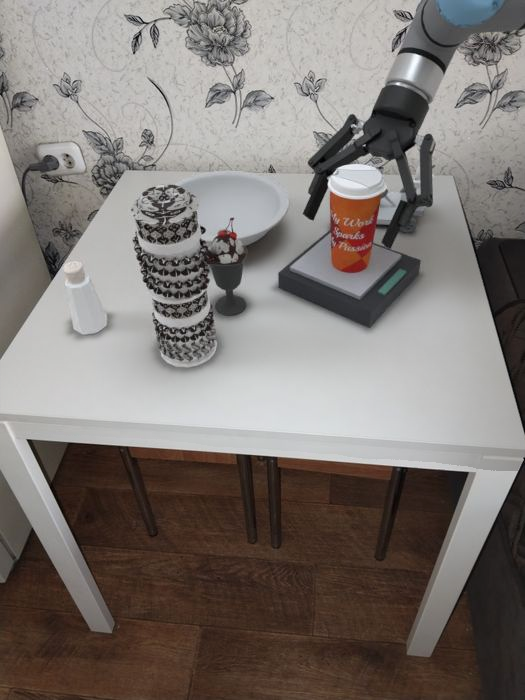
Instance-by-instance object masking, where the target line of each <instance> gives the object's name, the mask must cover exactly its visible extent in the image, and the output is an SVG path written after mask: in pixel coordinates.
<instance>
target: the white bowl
mask: <svg viewBox="0 0 525 700" xmlns="http://www.w3.org/2000/svg"><path fill="white" fill-rule="evenodd" d="M171 185H176V186H180V187H182V188H183V189H184V190H186V191H187V192H189V193H191V194H192V195H194V196H195V197H197V200H198V202H199V206H198V208H197V216H198V218H197V219H198V221H199V224H200V225H201V226H202V227H204V228H205V229H206V232H205V233H204V234H202V235H201V237H200V238H201V239H203V240H205V241H206V245H207V246H210V244H211V243H212V241H213V239H214V238H215V237H216V236H218V235H219V233H220V231H221V230H225V229H226V228H227V227H228V225H229V222H230V218H234V220H233V221H232V220H231V222H232V228H233V232H235V233H236V234H237V237H236V238H237V239H239V240H240V241H241V243H242V244H243V245H244V246H245V247H247V246H248V245H251V244H254V243H255V242H256V241H257V242H258V240H260V239H261V238H263V237H264V236H265V235H267V233H268V232H270V230H271V229H273V228H274V227H276V226H277V225H279V223H280V222H281V221H283V219H284V218H285V217H286V216H287V213H288V211H289V208H290V197H289V194H288V192H287V190H286V189H285V188H284V186H282V185H281V184H280V183H279V182H277V181H276V180H274V179H272V178H270V177H267V176H265V175H263V174H259V173H255V172H251V171H245V170H230V169H229V170H228V169H226V170H213V171H206V172H202V173H201V172H200V173H197V174H193V175H190V176H187V177H184V178H182V179H180V180H178V181H175V182H174V183H172V184H171ZM231 222H230V225H229V227H228V228H227V230H226V232H229V233H230V232H232V228H231ZM200 247H201V248H202V246H201V245H200Z"/></svg>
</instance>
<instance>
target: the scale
mask: <svg viewBox="0 0 525 700" xmlns="http://www.w3.org/2000/svg"><path fill="white" fill-rule="evenodd" d="M421 262H422V259H419V258H416V257H413V256H411V255H408V254H406V253H403V252H400V251H398V250H394V249H392V248H391V249H390V248H387V247H385V246H384V245H381V244H378V243H375V242H373V245H372V251H371V256H370V260H369V264H368V266H367V268H366V269H364V270H363V271H360V272H357V273H346V272H342V271H339V270H337V269H336V268H335V267H334V266H333V265H332V260H331V228H329V230H327V232H325V233H324V234H323V235H322V236H321V237H319V238H318V239H317V240H316V241H315V242H313V243H312V244H311V245H309V247H307V248H306V249H305V250H304V251H303V252H301V253H300V254H299V255H298V256H297V257H295V258H294V259H293V260H292V261H290V262H289V263H288V264H287V265H286V266H285V267H283V268H282V269H281V270H280V271H278V273H277V277H278V282H277V283H278V284H277V285H278V289H281V290H283V291H286V292H287V293H290V294H291V295H294V296H296V297H299V298H301V299H304V300H305V301H308V302H310V303H313V304H315V305H317V306H320V307H321V308H323V309H326V310H328V311H330V312H333V313H335V314H337V315H340V316H342V317H343V318H347V319H349V320H351V321H353V322H355V323H358V324H360V325H363V326H364V327H367V328H371V326H372V325H374V323H375V322H376V321H377V320H378V319H379V318H380V317H381V316H382V315H383V314H384V312H385V311H386V310H387V309H388V308H389V307H390V306H391V305H392V304H393V303H394V302H395V301H396V300H397V299H398V297H399V296H401V294H402V293H403V292H404V291H405V290H406V289H407V288H408V287H409V286H410V285H411V284H412V282H413V281H414V280H415V279H416V278H417V277H418V276H419V273H420V269H421V268H420V267H421Z"/></svg>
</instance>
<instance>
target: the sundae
mask: <svg viewBox="0 0 525 700" xmlns="http://www.w3.org/2000/svg"><path fill="white" fill-rule="evenodd" d="M231 220H232V221H233V220H234V218H230V222H231ZM230 222H229V225H230ZM229 225H228V227H229ZM228 227H227V228H228ZM227 228H226V229H225V230H221V231H220V232H219V233H218V236H216V237H215V238H214V239H213V241H212V243H211V244H210V246H208V249H207V251H206V252H207V254H208V255H207V256H208V257H209V260H208V261H207V262H206V263H207V265H209V266H210V270H211V273H212V276H213V280H214V282H215V285H216V286H217V287H218V288H219V289H220V290H222V291H225V295H223V296H222V297H220V298H218V299H217V301H216V302H215V305H214V308H215V310H216V312H218V313H219V314H221V315H224V316H235V315H239V314H241V313H242V312H243V311H244V310H245V309H246V308H247V302H246V300H245V298H243V297H242V296H240V295H236V294H234V290H235V289H237V288H238V287H239V286H240V285H241V282H242V277H243V270H244V269H243V268H244V262H245V260H246V258H247V256H248V254H249V249H248V247H247V246H244V245H243V244H242V243H241V241H240V240H239V239H237V238H236V237H237V234H236V233H235V232H233V228H232V222H231V228H232V232H230V231H229V233H228V231H227Z"/></svg>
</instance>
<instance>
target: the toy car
mask: <svg viewBox="0 0 525 700" xmlns="http://www.w3.org/2000/svg"><path fill="white" fill-rule="evenodd" d="M435 167H436V165H435V164H432V170H433V169H434V168H435ZM414 175H415V176H414V179H413V182H414V186H415V189H416V191H417V189H421V188H420V164H418V167H417V169H416V171H415V174H414ZM435 179H436V176H435V174H434V172H433V171H432V181H435ZM417 195H421V193H417ZM406 198H407V197H406V194H405V190H404V187H402V188H401V189H400V190H399V192H396V191H395V192H393V191H389V190H388V189H387V188H386V190H385V191H384V192H383V193H382V196H381V201H380V207H379V212H378V218H377V223H376V225H385V226H386V225H387V226H389V224H390V222H391V220H392V218H393V215H394V213H395V211H396V209H397V207H398V204H399V202H400V200H403V201H406V202H407V199H406ZM424 214H425V206H422V207H418V208H417V209H416V210H415V212H414V214H413V216H414V217H415V216H417V217H424ZM413 216H412V219H411V221H410V223H409V225H408V226H407V227H406V228H403V227H401V228H400V231H401V232H403V233H405V234H406V233H407V234H408V233H413V232H414V231H415V230H416V228H417V219H415V218H414V217H413ZM329 222H330V224H331V221H330V220H329Z"/></svg>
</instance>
